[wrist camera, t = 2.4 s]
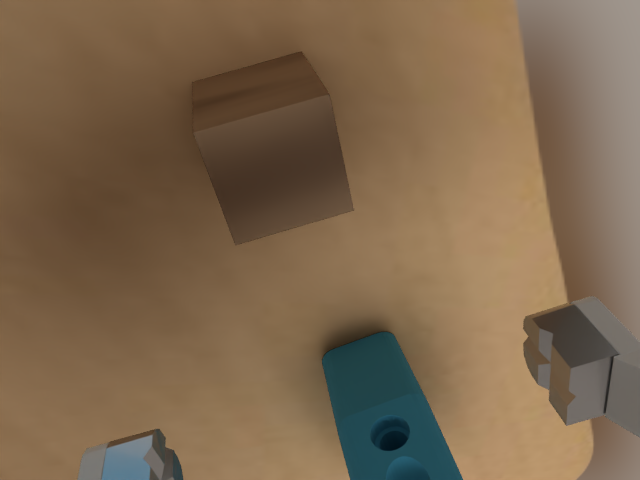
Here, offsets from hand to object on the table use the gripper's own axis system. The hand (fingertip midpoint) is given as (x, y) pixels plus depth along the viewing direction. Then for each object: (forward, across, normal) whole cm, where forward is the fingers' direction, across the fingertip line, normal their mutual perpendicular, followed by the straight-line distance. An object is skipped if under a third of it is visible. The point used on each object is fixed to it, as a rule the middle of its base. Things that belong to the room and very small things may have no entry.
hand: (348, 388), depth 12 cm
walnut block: (+17, 0, 0) cm, 17 cm away
